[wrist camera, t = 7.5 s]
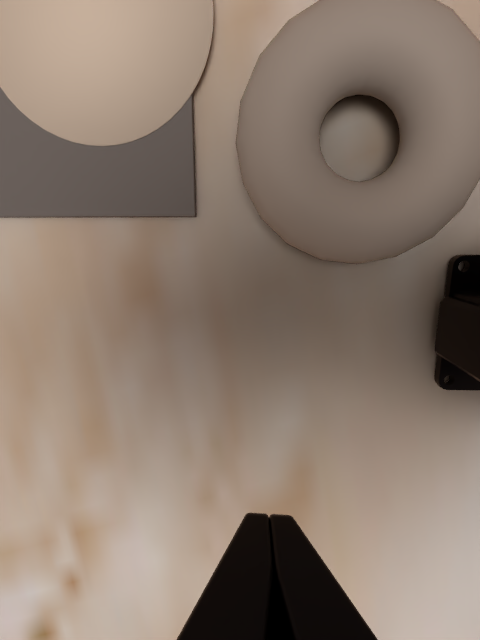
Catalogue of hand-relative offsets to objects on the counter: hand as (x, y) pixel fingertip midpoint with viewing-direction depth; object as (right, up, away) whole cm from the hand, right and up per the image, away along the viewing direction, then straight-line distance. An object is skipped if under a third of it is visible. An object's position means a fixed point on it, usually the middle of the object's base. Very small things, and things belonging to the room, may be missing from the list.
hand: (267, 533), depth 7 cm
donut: (+1, +15, +7) cm, 17 cm away
